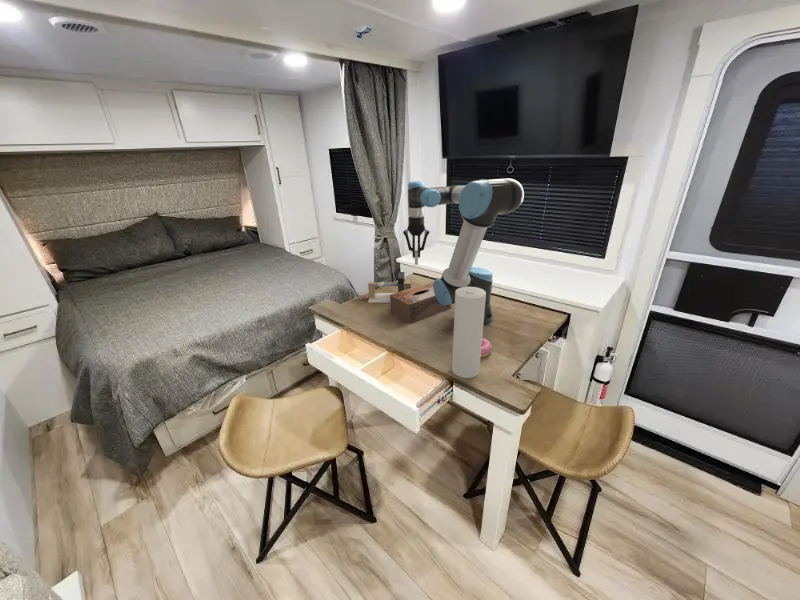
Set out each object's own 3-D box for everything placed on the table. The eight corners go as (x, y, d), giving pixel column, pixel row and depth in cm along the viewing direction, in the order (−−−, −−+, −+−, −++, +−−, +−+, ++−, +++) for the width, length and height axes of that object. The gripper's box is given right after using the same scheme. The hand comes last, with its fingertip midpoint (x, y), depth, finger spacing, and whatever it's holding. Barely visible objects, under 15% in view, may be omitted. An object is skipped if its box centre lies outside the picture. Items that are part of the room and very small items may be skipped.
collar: (404, 297, 167) (403, 278, 163) (398, 297, 167) (397, 278, 163) (404, 289, 176) (404, 271, 172) (399, 289, 177) (398, 271, 172)
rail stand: (411, 302, 168) (410, 286, 164) (368, 302, 169) (367, 286, 165) (411, 294, 178) (411, 278, 174) (370, 294, 179) (369, 278, 175)
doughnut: (497, 350, 126) (498, 341, 124) (481, 363, 119) (482, 353, 117) (472, 340, 133) (473, 331, 131) (456, 351, 126) (457, 342, 124)
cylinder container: (462, 381, 110) (468, 299, 97) (446, 366, 117) (449, 288, 105) (484, 372, 113) (492, 292, 101) (467, 359, 121) (472, 283, 109)
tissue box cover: (409, 325, 147) (408, 304, 143) (390, 313, 158) (389, 294, 153) (450, 309, 161) (451, 290, 157) (431, 299, 171) (431, 281, 167)
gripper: (429, 214, 158) (429, 261, 168) (402, 214, 159) (403, 261, 169) (430, 217, 152) (429, 266, 162) (402, 217, 152) (403, 266, 162)
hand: (416, 263), depth 165 cm, fingers closed
